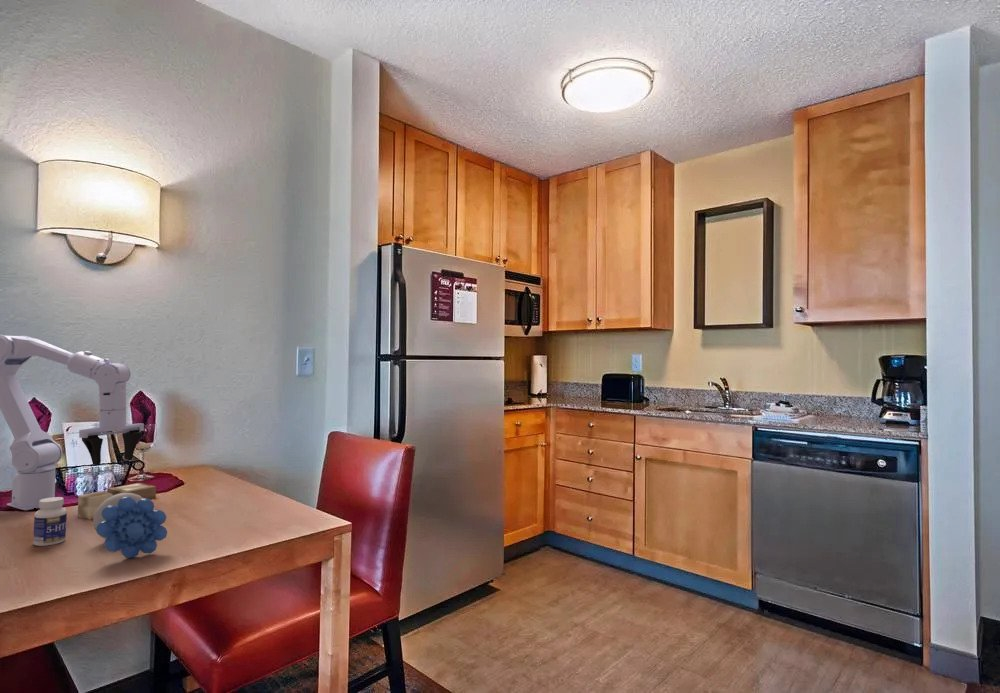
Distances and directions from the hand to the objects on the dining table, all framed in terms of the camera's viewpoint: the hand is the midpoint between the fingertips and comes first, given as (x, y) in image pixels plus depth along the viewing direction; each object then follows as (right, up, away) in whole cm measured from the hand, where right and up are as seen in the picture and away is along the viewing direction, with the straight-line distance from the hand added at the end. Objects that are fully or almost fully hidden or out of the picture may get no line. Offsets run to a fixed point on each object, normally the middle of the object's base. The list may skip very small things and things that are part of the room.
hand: (112, 462), depth 144 cm
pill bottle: (+7, -11, -29) cm, 31 cm away
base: (+1, -11, +6) cm, 13 cm away
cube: (+2, -11, -9) cm, 15 cm away
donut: (+20, -11, -26) cm, 35 cm away
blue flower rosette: (+29, -11, -37) cm, 49 cm away
